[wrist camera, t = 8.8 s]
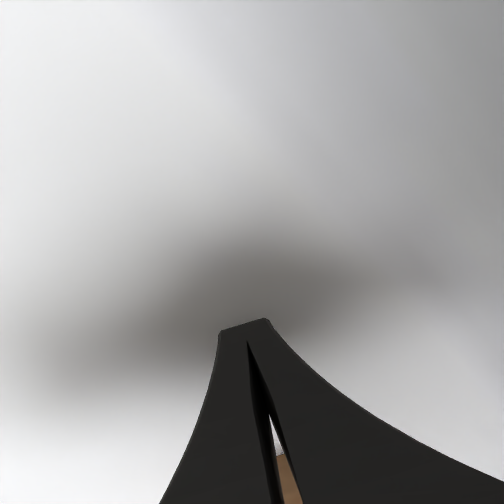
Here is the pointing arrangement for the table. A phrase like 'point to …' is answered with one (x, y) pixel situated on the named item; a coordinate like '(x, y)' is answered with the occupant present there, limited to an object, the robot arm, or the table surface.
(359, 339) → the table surface
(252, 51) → the table surface
